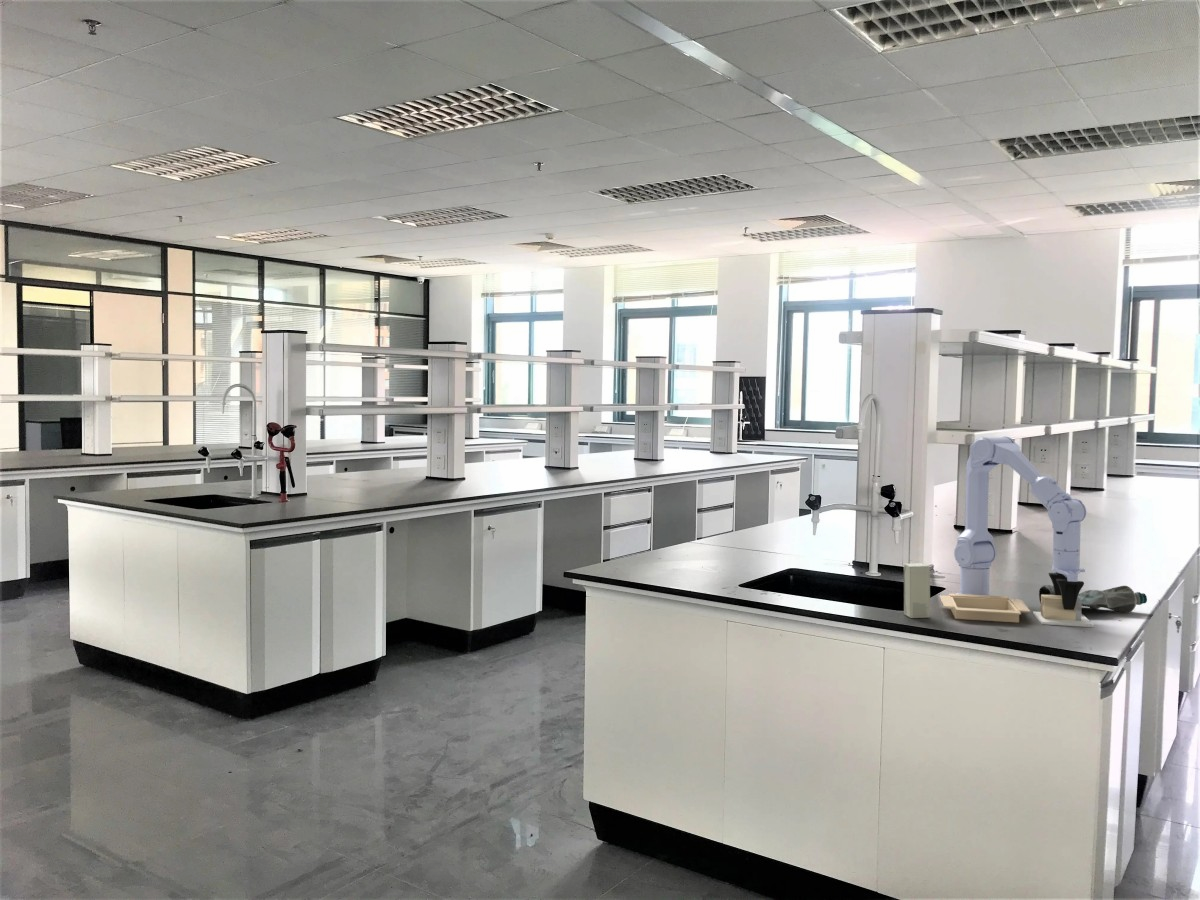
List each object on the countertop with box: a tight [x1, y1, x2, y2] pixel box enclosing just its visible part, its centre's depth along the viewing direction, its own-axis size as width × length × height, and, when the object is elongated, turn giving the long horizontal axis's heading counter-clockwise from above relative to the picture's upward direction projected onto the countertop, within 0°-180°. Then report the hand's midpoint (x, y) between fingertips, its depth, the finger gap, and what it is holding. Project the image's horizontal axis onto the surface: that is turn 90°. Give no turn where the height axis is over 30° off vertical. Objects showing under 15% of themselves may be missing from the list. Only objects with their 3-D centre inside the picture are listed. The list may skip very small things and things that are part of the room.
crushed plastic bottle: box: [1038, 584, 1148, 614], centre depth 223 cm, size 13×7×25 cm
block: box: [1040, 595, 1083, 621], centre depth 214 cm, size 4×8×5 cm, turn 74°
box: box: [903, 562, 931, 619], centre depth 218 cm, size 5×4×13 cm
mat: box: [1032, 610, 1095, 628], centre depth 214 cm, size 11×11×1 cm
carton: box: [939, 593, 1031, 623], centre depth 220 cm, size 19×19×3 cm
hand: (1065, 606), depth 213 cm, fingers open, 7 cm apart
